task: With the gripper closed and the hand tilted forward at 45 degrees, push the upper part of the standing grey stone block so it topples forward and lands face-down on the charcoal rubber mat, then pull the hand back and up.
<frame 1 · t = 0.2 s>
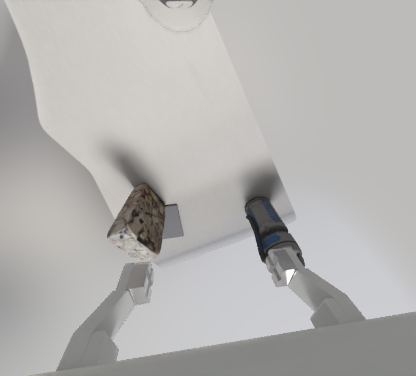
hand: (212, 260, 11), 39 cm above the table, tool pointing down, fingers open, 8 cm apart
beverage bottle: (254, 205, 65), on the table
stone block: (151, 197, 55), on the table, touching mat
mat: (157, 223, 63), on the table
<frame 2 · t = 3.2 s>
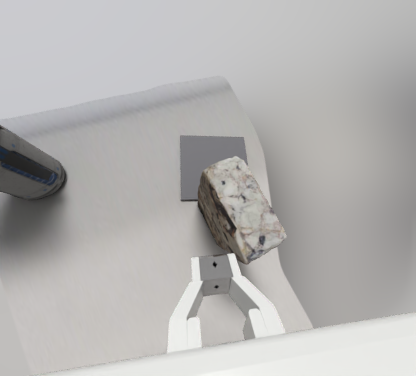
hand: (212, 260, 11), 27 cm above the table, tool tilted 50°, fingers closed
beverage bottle: (47, 180, 37), on the table
stone block: (214, 217, 39), on the table, touching mat
mat: (214, 166, 43), on the table
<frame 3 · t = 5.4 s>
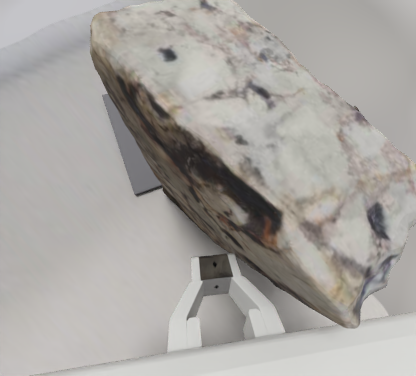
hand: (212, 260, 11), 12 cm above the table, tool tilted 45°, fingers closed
stone block: (197, 202, 24), on the table, touching mat
mat: (173, 127, 27), on the table
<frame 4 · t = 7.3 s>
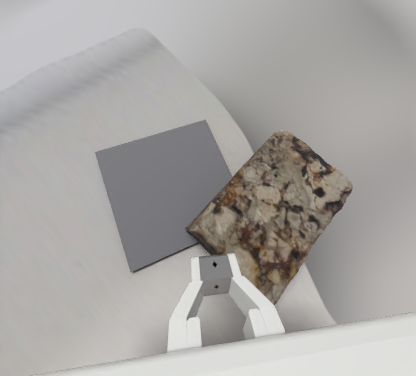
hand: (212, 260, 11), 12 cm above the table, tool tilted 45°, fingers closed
stone block: (221, 267, 19), point 3 cm above the table, touching mat
mat: (173, 186, 25), on the table
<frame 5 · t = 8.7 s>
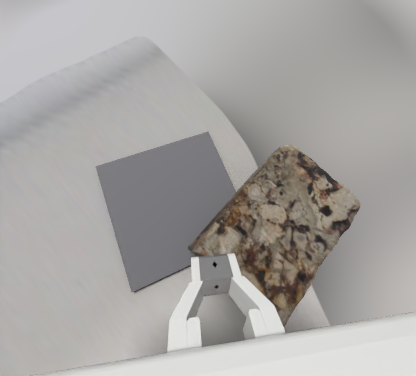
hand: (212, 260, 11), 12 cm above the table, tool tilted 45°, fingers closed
stone block: (225, 289, 19), point 3 cm above the table, touching mat
mat: (175, 201, 24), on the table
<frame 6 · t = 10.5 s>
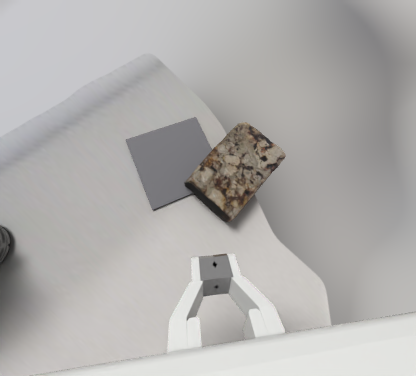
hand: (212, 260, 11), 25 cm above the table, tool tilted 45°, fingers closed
stone block: (205, 203, 33), point 3 cm above the table, touching mat
mat: (176, 160, 39), on the table
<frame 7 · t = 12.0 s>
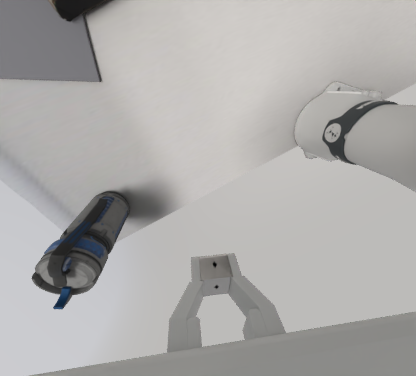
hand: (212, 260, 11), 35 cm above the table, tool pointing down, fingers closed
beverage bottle: (112, 202, 48), on the table
mat: (27, 16, 27), on the table
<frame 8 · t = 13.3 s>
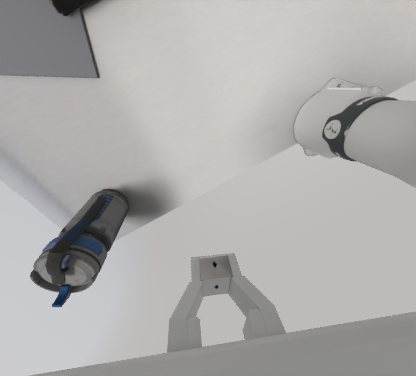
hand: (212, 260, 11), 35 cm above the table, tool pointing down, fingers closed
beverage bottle: (111, 200, 48), on the table
mat: (23, 11, 27), on the table
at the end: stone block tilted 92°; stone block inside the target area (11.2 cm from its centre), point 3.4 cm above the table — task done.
